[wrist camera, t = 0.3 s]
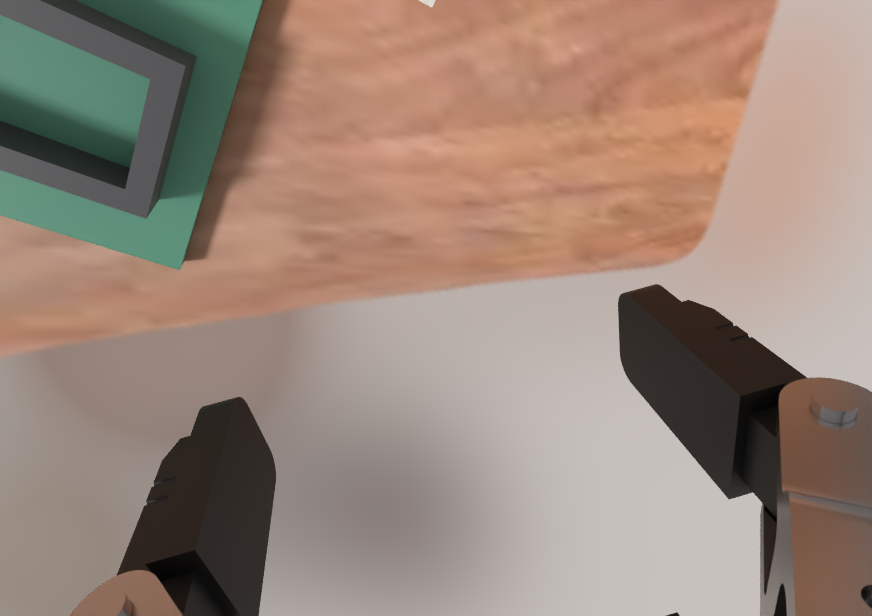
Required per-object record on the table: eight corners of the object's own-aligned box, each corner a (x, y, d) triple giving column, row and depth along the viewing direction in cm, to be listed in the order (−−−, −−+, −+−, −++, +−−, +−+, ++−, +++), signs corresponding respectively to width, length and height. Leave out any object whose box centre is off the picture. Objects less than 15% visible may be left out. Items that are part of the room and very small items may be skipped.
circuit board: (-179, -248, 19) (-268, -282, 16) (266, -10, 25) (259, -4, 22) (-161, 154, 26) (-221, 180, 23) (183, 261, 32) (169, 292, 29)
